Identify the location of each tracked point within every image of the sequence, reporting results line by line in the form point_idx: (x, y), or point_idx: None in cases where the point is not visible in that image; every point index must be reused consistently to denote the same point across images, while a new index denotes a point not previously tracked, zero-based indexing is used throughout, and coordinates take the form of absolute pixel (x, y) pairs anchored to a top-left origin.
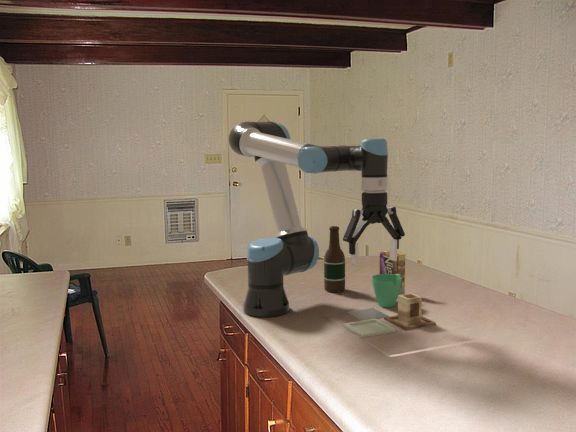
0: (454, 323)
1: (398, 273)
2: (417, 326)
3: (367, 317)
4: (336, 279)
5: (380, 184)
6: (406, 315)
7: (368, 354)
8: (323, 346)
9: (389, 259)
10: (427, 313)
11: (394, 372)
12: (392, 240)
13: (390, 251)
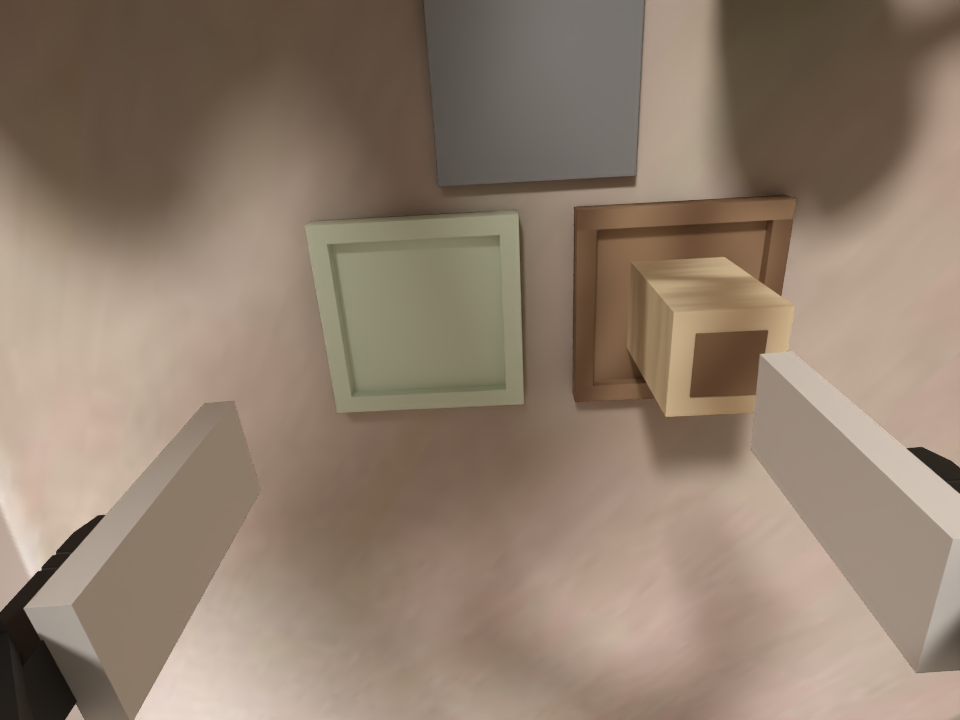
0: (872, 379)
1: None
2: (651, 396)
3: (499, 140)
4: None
5: None
6: (639, 361)
7: (301, 545)
8: (143, 421)
9: None
10: (895, 177)
11: (326, 674)
12: (915, 594)
13: (812, 422)
